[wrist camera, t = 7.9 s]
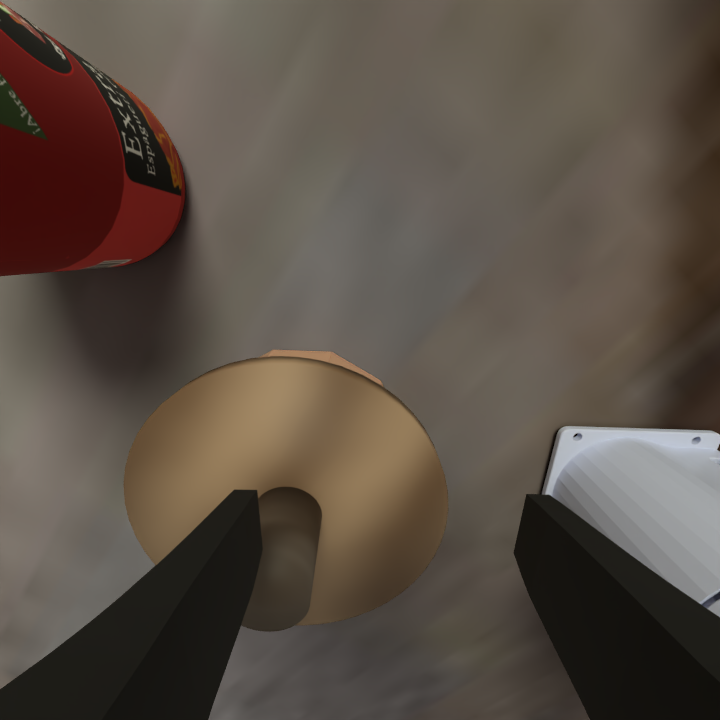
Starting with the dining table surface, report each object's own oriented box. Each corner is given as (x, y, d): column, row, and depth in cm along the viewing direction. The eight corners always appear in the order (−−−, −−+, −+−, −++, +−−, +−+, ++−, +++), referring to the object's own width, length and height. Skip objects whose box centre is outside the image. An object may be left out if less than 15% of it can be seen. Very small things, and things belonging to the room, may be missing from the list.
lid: (486, 395, 15) (546, 465, 10) (399, 624, 19) (411, 745, 15) (140, 322, 14) (23, 361, 9) (135, 583, 18) (57, 700, 14)
